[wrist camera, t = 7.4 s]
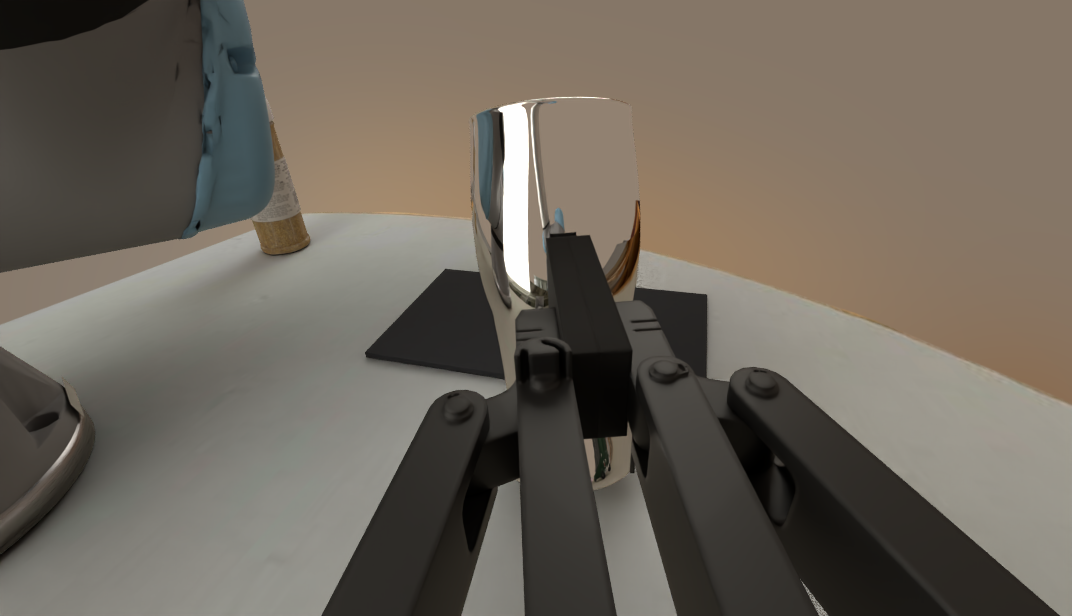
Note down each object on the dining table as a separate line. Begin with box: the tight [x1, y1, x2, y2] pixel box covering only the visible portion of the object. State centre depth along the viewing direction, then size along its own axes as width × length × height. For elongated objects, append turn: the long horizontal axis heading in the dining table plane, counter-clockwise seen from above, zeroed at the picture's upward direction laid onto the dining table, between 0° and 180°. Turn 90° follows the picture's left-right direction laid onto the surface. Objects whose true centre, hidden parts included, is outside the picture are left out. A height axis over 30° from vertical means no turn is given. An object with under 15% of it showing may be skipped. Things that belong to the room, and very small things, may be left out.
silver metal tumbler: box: [469, 97, 640, 491], centre depth 21 cm, size 7×7×15 cm
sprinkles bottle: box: [251, 98, 310, 255], centre depth 45 cm, size 5×5×14 cm
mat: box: [365, 269, 707, 379], centre depth 34 cm, size 21×12×1 cm, turn 73°
